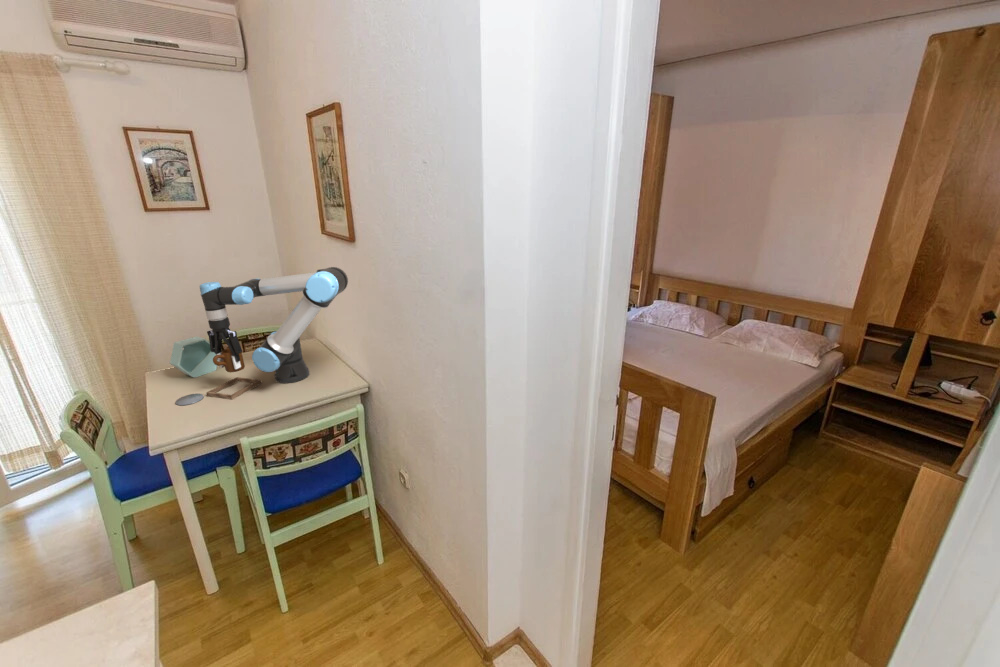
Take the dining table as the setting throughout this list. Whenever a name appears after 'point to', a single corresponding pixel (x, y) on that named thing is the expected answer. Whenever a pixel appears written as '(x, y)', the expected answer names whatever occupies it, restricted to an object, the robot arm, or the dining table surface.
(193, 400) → the coaster
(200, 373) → the planter
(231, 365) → the mug
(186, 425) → the dining table surface
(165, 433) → the dining table surface
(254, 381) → the brown wooden frame
